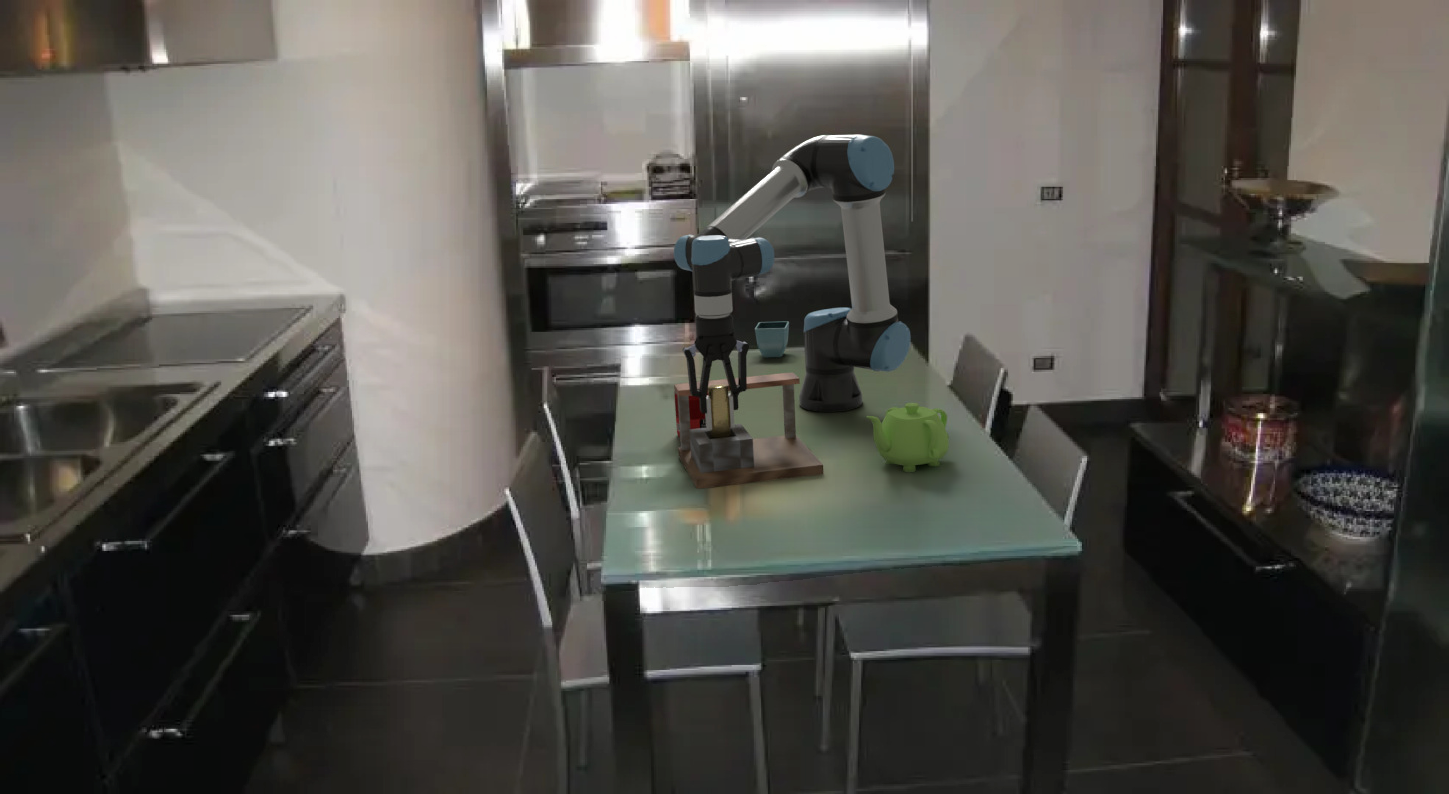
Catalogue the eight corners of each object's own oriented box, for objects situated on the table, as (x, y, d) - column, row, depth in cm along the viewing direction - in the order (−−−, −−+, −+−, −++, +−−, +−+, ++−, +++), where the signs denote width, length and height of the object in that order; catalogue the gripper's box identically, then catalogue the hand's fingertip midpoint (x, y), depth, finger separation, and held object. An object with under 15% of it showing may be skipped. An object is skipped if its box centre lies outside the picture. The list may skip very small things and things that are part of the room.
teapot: (936, 480, 242) (936, 419, 239) (866, 474, 248) (865, 413, 244) (955, 455, 256) (955, 396, 253) (889, 449, 262) (888, 392, 258)
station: (795, 442, 270) (792, 372, 265) (823, 474, 249) (821, 397, 245) (678, 456, 265) (674, 384, 261) (697, 488, 244) (692, 411, 240)
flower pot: (755, 359, 346) (754, 328, 343) (760, 352, 354) (758, 321, 352) (786, 359, 344) (785, 327, 342) (790, 351, 352) (789, 321, 350)
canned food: (708, 440, 275) (705, 393, 272) (673, 440, 276) (670, 392, 274) (715, 430, 282) (712, 383, 279) (681, 429, 284) (678, 383, 281)
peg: (729, 448, 255) (725, 383, 251) (733, 454, 251) (729, 388, 248) (710, 450, 254) (706, 385, 251) (714, 456, 251) (710, 390, 247)
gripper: (751, 307, 250) (756, 417, 256) (668, 314, 247) (676, 426, 253) (759, 314, 243) (765, 427, 249) (675, 321, 240) (682, 436, 246)
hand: (720, 426), depth 251 cm, fingers closed on peg, 4 cm apart
